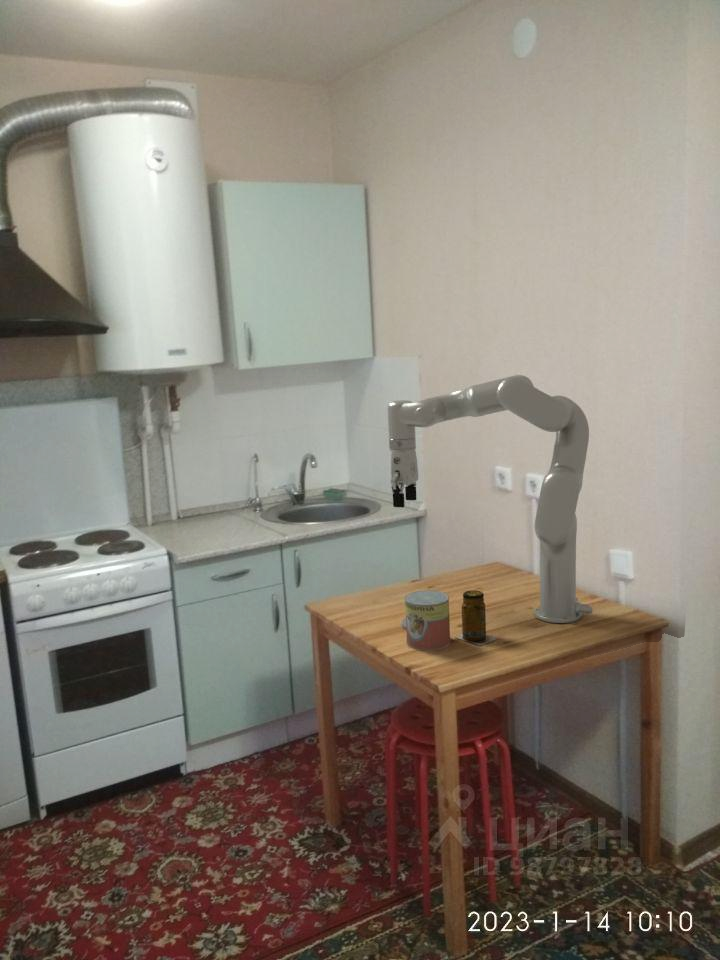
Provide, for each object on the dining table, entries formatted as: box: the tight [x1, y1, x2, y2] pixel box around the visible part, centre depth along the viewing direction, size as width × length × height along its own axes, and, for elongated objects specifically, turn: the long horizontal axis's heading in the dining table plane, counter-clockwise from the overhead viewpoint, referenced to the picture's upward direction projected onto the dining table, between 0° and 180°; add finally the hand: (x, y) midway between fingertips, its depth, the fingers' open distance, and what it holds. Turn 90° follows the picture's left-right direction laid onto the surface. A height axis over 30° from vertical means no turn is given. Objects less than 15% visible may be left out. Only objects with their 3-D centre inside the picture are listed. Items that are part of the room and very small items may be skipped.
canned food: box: [404, 590, 452, 652], centre depth 202 cm, size 11×11×12 cm
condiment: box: [454, 589, 499, 646], centre depth 203 cm, size 7×8×12 cm
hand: (405, 503), depth 227 cm, fingers open, 9 cm apart
